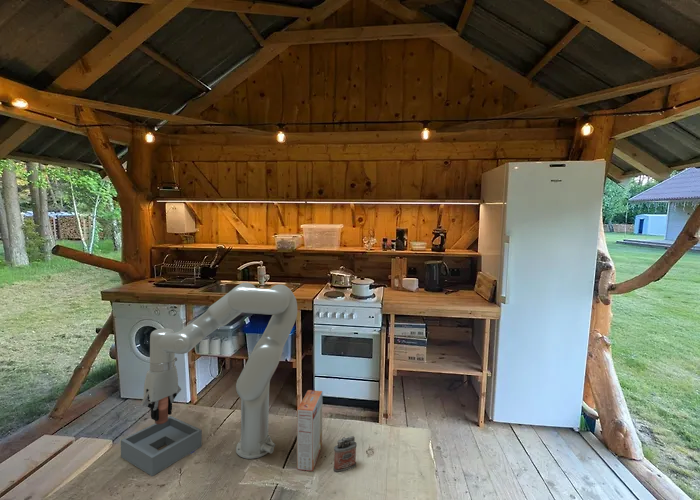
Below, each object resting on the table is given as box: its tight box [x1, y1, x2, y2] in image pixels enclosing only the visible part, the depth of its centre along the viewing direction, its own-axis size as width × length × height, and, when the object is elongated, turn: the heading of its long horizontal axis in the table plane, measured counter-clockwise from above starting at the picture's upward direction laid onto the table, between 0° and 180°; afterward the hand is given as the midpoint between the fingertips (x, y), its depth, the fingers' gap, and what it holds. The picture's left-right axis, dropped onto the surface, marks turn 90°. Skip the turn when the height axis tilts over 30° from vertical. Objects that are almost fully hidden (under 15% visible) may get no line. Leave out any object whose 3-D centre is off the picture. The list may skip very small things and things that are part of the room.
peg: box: [154, 397, 169, 424], centre depth 119 cm, size 4×4×10 cm
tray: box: [120, 415, 203, 477], centre depth 119 cm, size 18×18×6 cm
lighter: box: [333, 435, 357, 474], centre depth 114 cm, size 8×3×10 cm, turn 117°
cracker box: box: [296, 389, 323, 472], centre depth 118 cm, size 14×6×21 cm, turn 172°
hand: (161, 416), depth 119 cm, fingers closed on peg, 4 cm apart
